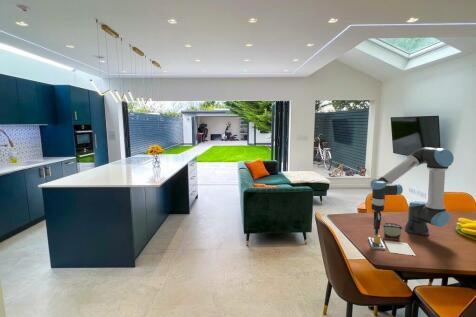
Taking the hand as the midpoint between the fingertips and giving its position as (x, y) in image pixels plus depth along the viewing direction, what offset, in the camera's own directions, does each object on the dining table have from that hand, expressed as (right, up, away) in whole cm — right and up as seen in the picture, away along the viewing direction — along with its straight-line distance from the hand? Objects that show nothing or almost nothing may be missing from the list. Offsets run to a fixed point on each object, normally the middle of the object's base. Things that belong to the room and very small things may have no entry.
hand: (375, 237), depth 173 cm
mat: (+12, -5, -7) cm, 14 cm away
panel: (0, -4, -1) cm, 4 cm away
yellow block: (-1, -2, -2) cm, 3 cm away
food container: (+16, -3, +10) cm, 19 cm away
